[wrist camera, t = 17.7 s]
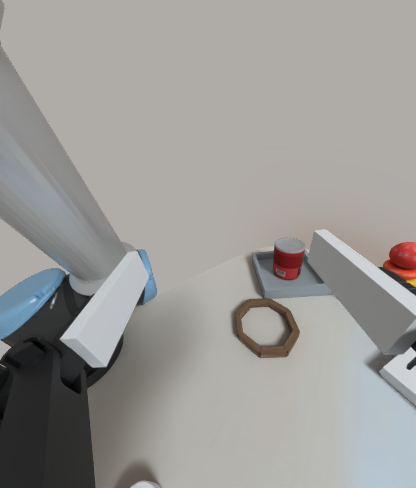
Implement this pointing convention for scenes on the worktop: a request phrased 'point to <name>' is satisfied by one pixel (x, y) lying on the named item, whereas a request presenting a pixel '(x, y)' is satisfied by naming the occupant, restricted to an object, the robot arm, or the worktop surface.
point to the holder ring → (273, 350)
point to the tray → (280, 288)
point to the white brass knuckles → (145, 485)
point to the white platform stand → (402, 375)
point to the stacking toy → (403, 261)
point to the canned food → (288, 258)
